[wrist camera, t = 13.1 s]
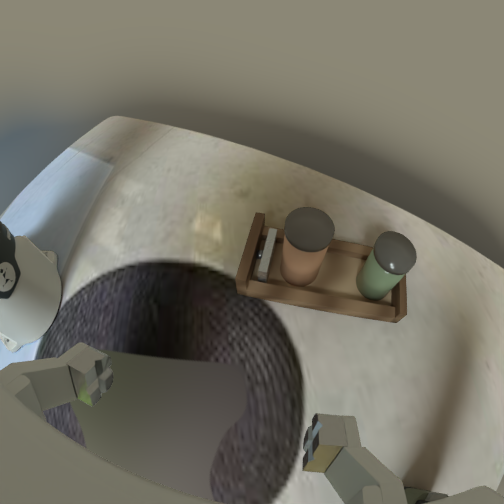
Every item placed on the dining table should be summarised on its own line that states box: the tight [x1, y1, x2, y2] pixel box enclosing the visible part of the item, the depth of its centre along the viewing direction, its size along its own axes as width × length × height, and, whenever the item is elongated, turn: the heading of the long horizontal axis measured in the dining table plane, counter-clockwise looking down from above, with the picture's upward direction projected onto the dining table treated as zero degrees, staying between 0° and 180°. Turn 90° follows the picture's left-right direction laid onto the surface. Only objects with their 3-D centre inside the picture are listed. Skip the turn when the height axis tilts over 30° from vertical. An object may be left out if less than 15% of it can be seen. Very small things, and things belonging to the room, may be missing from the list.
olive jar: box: [356, 231, 416, 301], centre depth 31 cm, size 5×5×8 cm
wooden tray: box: [235, 213, 407, 323], centre depth 34 cm, size 21×10×4 cm, turn 76°
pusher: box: [256, 228, 277, 283], centre depth 35 cm, size 2×6×3 cm, turn 166°
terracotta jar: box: [280, 207, 335, 287], centre depth 32 cm, size 5×5×9 cm
